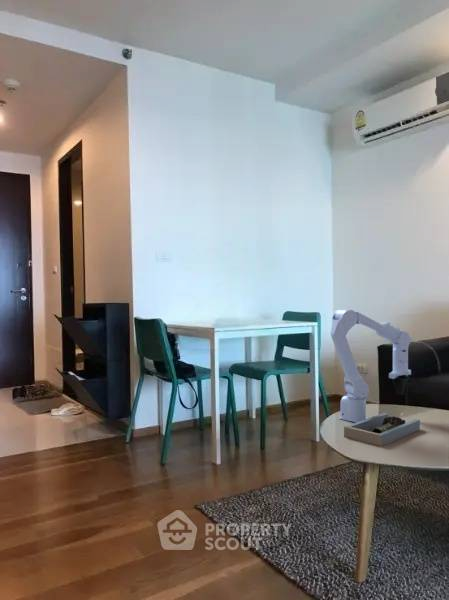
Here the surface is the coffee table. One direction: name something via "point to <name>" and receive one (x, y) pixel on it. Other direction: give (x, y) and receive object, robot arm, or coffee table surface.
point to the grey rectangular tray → (361, 433)
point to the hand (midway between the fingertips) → (400, 394)
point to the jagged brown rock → (388, 424)
